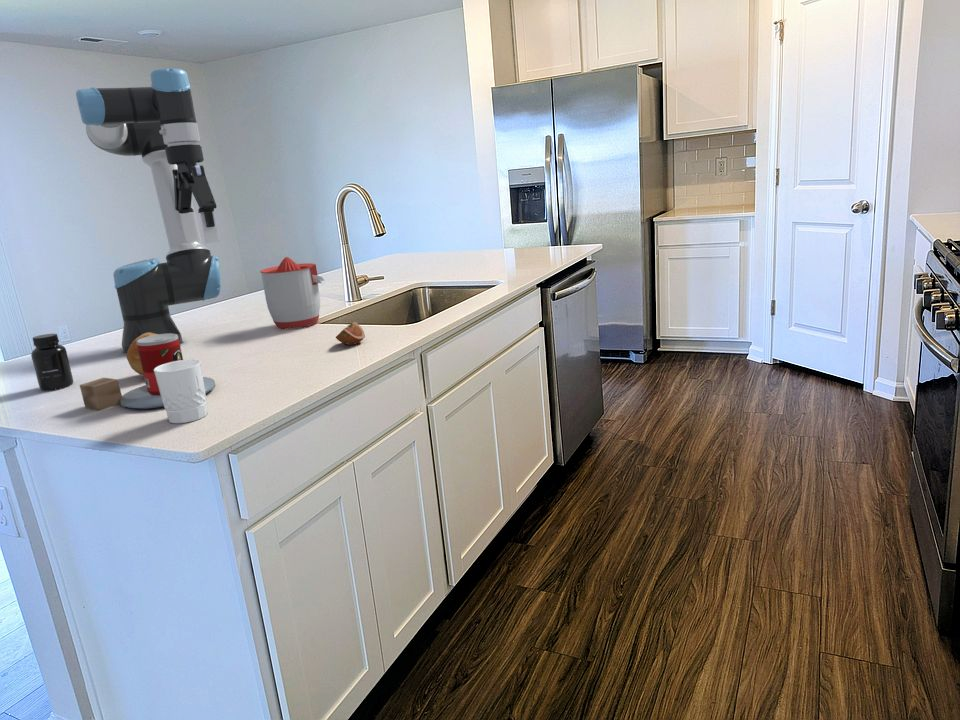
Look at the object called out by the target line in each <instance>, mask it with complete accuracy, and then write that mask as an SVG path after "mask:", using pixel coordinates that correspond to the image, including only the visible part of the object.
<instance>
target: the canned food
mask: <svg viewBox="0 0 960 720" xmlns="http://www.w3.org/2000/svg"><path fill="white" fill-rule="evenodd" d="M137 348H138V353H139V357H140V361H141V365H142V370H143V374H144V376H143V378H144V381H145V385H146V386H147V390H148V392H149V393H150V394H151V395H160V391H159V387H158V384H157V380H156V377H155V373H154V369H155V368H156V367H158V366H160V365H163V364H166V363H169V362H174V361H179V360H184V356H183V352H182V348H181V344H180V342H179V338H178V335H177V334H172V333H169V334H158V335H152V336H148V337H144V338H141V339H139V340H137Z"/></svg>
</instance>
